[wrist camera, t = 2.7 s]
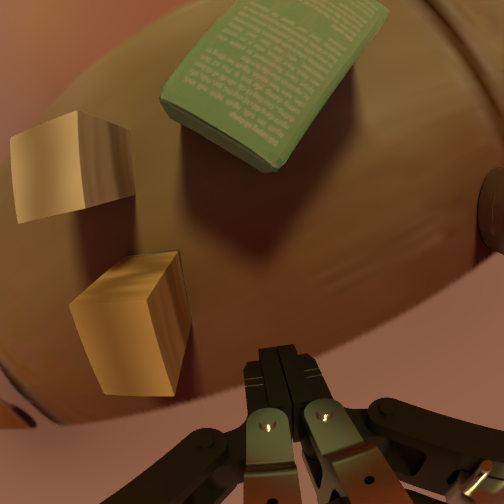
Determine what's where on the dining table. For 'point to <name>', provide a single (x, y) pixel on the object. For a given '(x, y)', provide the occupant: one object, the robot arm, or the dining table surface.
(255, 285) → the dining table surface
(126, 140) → the birch pillar
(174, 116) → the box
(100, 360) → the oak pillar
